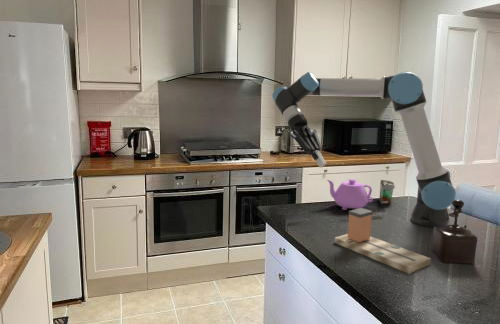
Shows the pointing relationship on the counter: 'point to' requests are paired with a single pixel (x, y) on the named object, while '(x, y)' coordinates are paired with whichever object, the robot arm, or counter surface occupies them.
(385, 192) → the food container
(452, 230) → the coffee grinder
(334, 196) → the teapot
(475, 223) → the counter surface
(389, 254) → the fader board
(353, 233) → the fader knob
